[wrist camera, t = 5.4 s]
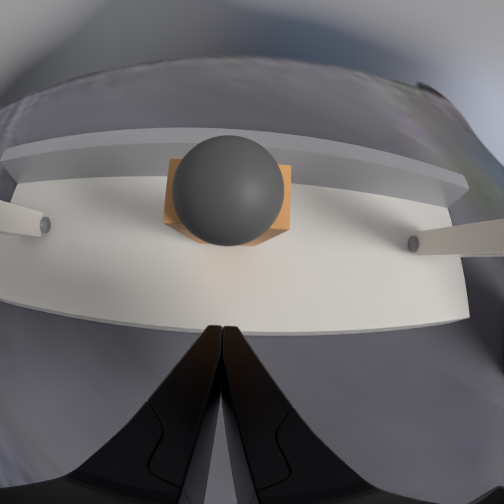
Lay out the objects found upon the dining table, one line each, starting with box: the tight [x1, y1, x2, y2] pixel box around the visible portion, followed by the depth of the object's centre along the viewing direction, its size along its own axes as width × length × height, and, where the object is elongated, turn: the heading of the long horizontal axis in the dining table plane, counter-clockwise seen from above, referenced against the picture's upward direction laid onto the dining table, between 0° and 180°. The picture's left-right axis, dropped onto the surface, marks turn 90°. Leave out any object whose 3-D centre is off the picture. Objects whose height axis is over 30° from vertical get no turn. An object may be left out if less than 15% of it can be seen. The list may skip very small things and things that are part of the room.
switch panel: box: [0, 128, 470, 336], centre depth 14 cm, size 10×34×6 cm, turn 88°
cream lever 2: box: [408, 219, 504, 257], centre depth 11 cm, size 2×3×10 cm
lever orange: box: [163, 135, 291, 246], centre depth 10 cm, size 2×3×10 cm
